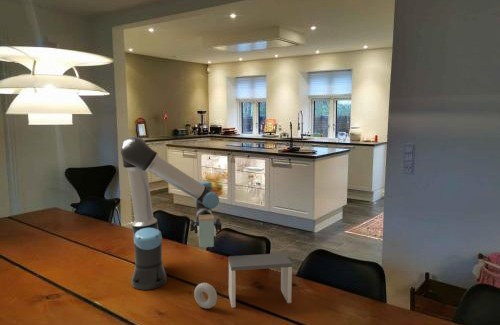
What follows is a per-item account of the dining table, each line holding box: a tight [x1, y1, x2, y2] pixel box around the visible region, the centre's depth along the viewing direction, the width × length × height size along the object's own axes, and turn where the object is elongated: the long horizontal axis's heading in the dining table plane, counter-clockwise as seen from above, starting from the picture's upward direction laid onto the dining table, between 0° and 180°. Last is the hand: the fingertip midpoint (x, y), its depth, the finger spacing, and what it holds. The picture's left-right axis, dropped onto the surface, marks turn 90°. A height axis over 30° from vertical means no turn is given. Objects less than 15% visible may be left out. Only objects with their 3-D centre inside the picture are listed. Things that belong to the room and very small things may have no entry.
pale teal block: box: [198, 214, 215, 248], centre depth 153 cm, size 6×6×12 cm
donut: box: [193, 282, 218, 310], centre depth 139 cm, size 10×4×10 cm, turn 63°
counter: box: [228, 252, 293, 308], centre depth 147 cm, size 24×11×16 cm, turn 99°
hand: (206, 233), depth 148 cm, fingers closed on pale teal block, 6 cm apart
